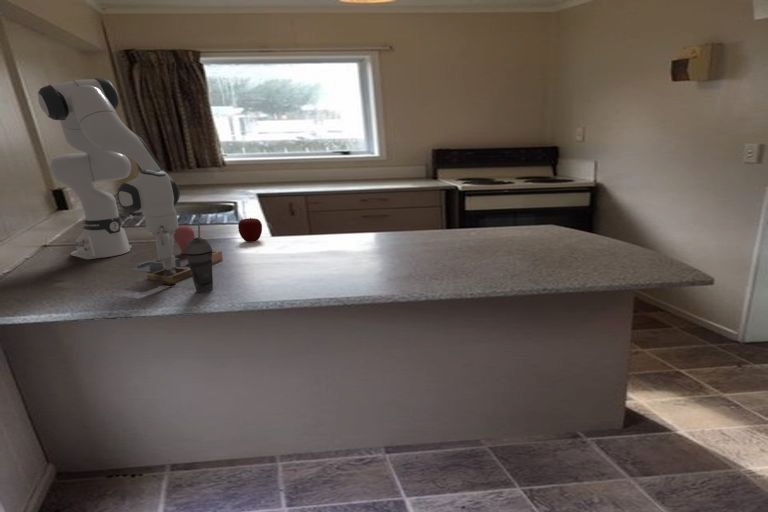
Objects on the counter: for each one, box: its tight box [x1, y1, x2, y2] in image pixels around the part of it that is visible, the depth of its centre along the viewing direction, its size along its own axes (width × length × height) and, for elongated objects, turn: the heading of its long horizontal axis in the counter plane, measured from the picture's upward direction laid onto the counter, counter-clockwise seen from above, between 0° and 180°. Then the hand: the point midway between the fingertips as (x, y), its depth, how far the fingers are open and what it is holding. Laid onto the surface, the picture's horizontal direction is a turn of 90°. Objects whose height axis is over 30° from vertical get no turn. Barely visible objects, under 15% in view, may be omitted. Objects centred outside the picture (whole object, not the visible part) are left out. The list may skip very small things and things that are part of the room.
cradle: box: [130, 257, 186, 273], centre depth 153 cm, size 14×10×4 cm
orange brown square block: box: [186, 250, 224, 266], centre depth 158 cm, size 8×8×4 cm
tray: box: [146, 266, 192, 287], centre depth 143 cm, size 9×9×3 cm
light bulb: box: [174, 225, 195, 255], centre depth 169 cm, size 7×7×12 cm
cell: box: [162, 254, 178, 276], centre depth 142 cm, size 4×4×7 cm
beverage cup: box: [184, 222, 214, 294], centre depth 131 cm, size 7×7×20 cm
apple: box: [237, 217, 263, 243], centre depth 190 cm, size 10×10×10 cm
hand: (169, 267), depth 143 cm, fingers closed on cell, 3 cm apart
